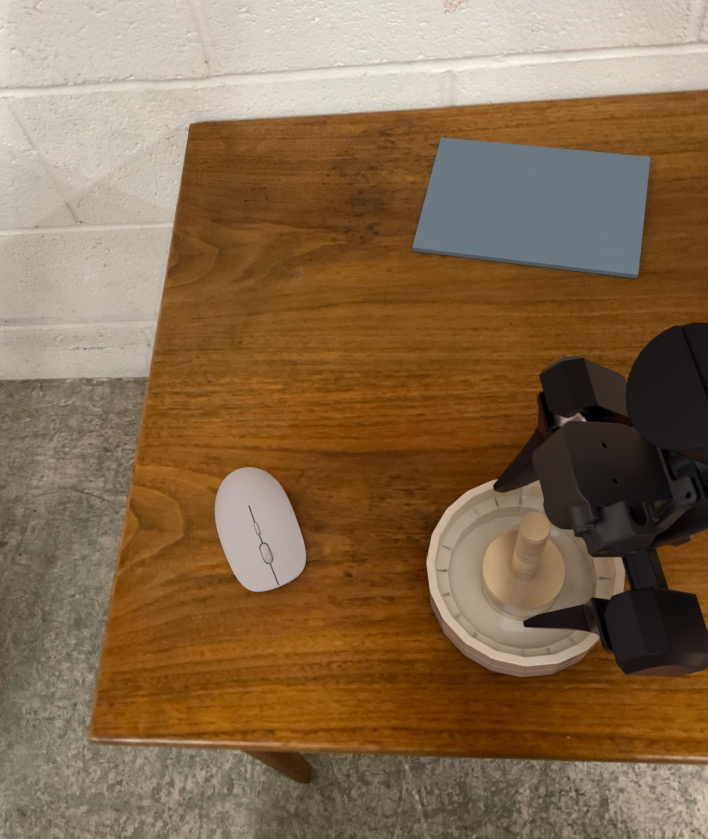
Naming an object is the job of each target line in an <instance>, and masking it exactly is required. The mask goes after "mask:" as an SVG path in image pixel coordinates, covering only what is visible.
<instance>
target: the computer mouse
mask: <svg viewBox="0 0 708 839" xmlns="http://www.w3.org/2000/svg"><path fill="white" fill-rule="evenodd" d="M214 520H215V526H216V530H217V534H218V538H219V541H220V544H221V547H222V549H223V553H224V555H225V557H226V560H227V562H228V564H229V567H230V568H231V570H232V573H233V574H234V576H235V577H236V579H237V581H238V582H239V583H240V584H241V585H242V586H243V587H244V588H245V589H247V590H248V591H250V592H254V593H261V592H268V591H272V590H274V589H277V588H280V587H283V586H285V585H287V584H289V583H290V582H292V581H294V580H295V579H297V578H298V577H299V576H300V575H301V574H302V572H304V570H305V567H306V563H307V550H306V546H305V540H304V538H303V537H304V536H303V534H302V530H301V528H300V524H299V522H298V519H297V517H296V514H295V511H294V509H293V506H292V503H291V502H290V499H289V497H288V495H287V493H286V491H285V489H284V488H283V486H282V485H281V484H280V482H279V481H278V480H277V479H276V478H275V477H274V476H273V475H272V474H270V473H269V472H267V471H265V470H264V469H261V468H258V467H254V466H253V467H252V466H245V467H241V468H237V469H235V470H233V471H232V472H230V473H229V474H227V475H226V477H225V478H224V479H223V480H222V481H221V484H219V487H218V490H217V492H216V496H215V501H214Z"/></svg>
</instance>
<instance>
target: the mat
mask: <svg viewBox="0 0 708 839" xmlns="http://www.w3.org/2000/svg"><path fill="white" fill-rule="evenodd" d="M651 159H652V158H651V156H647V155H634V154H624V153H613V152H604V151H592V150H583V149H571V148H562V147H561V148H559V147H550V146H539V145H528V144H516V143H508V142H507V143H506V142H496V141H495V142H494V141H486V140H485V141H484V140H473V139H464V138H463V139H462V138H451V137H442V136H441V137H440V139H439V143H438V147H437V151H436V155H435V158H434V162H433V165H432V170H431V174H430V177H429V182H428V185H427V189H426V193H425V197H424V200H423V203H422V204H423V205H422V207H421V208H422V209H421V212H420V216H419V220H418V224H417V227H416V231H415V234H414V238H413V243H412V247H411V249H412V250H411V251H412V252H416V253H423V254H433V255H440V256H441V255H442V256H448V257H456V258H465V259H471V260H472V259H473V260H481V261H490V262H496V263H497V262H498V263H505V264H515V265H523V266H531V267H538V268H547V269H553V270H564V271H570V272H571V271H572V272H578V273H587V274H596V275H603V276H604V275H605V276H612V277H620V278H628V279H638V277H639V273H640V264H641V254H642V244H643V235H644V227H645V226H644V224H645V216H646V207H647V206H646V205H647V196H648V186H649V176H650V168H651Z"/></svg>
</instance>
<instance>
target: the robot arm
mask: <svg viewBox="0 0 708 839" xmlns="http://www.w3.org/2000/svg"><path fill="white" fill-rule="evenodd" d="M538 377H539V381H540V384H541V388H542V390H541V391H540V392H538V393H537V396H536V403H537V411H538V413H537V426H536V428H535V430H534V432H533V433H532V435H531V436H530V438H529V439H528V441H527V442H526V444H525V445H524V447H522V448H521V450H520V451H519V452H518V454H517V455H516V456H515V457H514V459H513V460H512V461H511V462H510V463H509V465H508V466H507V467H506V468H505V470H504V471H503V472H502V473H501V475H500V476H498V480H497V481H496V482H495V483H494V485H493V489H494V491H495V492H499V493H506V492H509V491H512V490H515V489H518V488H522V487H524V486H527V485H529V484H531V483H533V482H536V481H538V480H539V482H540V486H541V490H542V494H543V498H544V502H543V507H544V511H545V514H546V516H547V518H548V520H549V521H550V522H551V523H552V524H553V525H554V526H556V527H558V528H560V529H565V530H572V529H573V533H574V536H575V537H580V538H582V539H583V540H584V542H585V544H586V547H587V551H588V554H589V555H590V556H592V557H621V558H622V562H623V565H624V569H625V577H626V579H627V583H628V585H629V589H627V590H625V591H623V592H622V593H619V594H616V595H613V596H611V598H610V599H603V598H596V597H592V598H590V599H589V600H588V601H587V602H586V603H585V604H582V605H577V606H573V607H568V608H564V609H559V610H555V611H550V612H546V613H541V614H538V615H535V616H533V617H531V618H528V619H526V620H524V621H523V625H524V627H526V628H538V629H559V630H579V631H586V632H591V633H594V634H597V635H598V636H599V639H600V642H599V643H600V646H601V648H602V649H603V650H604V651H605V652H607V654H611V655H613V656H614V660H615V663H616V665H617V666H618V667H619V669H620V670H621V671H622V672H623V674H625V675H627V676H648V677H667V678H679V677H683V676H686V675H691V674H694V673H698V672H702V671H705V670H706V669H707V668H708V627H707V624H706V621H705V618H704V614H703V612H702V609H701V606H700V603H699V599H698V597H697V593H692V592H688V591H682V590H675V589H670V588H669V585H668V582H667V579H666V576H665V572H664V569H663V565H662V563H661V558H660V556H659V553H658V550H657V549H660V548H661V547H664V546H671V547H679V546H681V545H684V544H687V543H690V542H692V538H691V536H694V535H696V534H698V533H702V532H705V531H707V530H708V322H690V323H685V324H681V325H678V324H676V325H673V326H671V327H668V328H667V329H664V330H662V331H661V332H660V333H659V334H657V335H655V336H654V337H653V338H652V339H651V340H649V341H648V342H647V344H646V345H645V346H644V347H643V348H642V350H640V352H639V353H638V355H637V356H636V358H635V360H634V361H633V363H632V365H631V368H630V371H629V373H628V376H627V379H626V377H625V375H624V374H621V373H619V372H617V371H614V370H612V369H610V368H607V367H606V366H603V365H601V364H599V363H597V362H594V361H592V360H590V359H587V358H585V357H582V356H580V355H572V356H571V355H570V356H565V357H562V358H560V359H558V360H556V361H554V363H551V364H550V365H548V366H546V367H544V368H543V369H542V370H541V372H540V373H539V375H538Z"/></svg>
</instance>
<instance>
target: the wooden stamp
mask: <svg viewBox="0 0 708 839" xmlns="http://www.w3.org/2000/svg"><path fill="white" fill-rule="evenodd" d="M550 530H551V524H550V521H549V520H548V518H547V517H546V516H545V515H543V514H542V513H539V512H530V513H527V514H526V515H524V516H523V518H522V519H521V522H520V526H519V530H513V531H509V532H507V533H504V534H502V535H500V536H499V537H497V538H496V539H495V540H494V541H493V542H492V543H491V544H490V545H489V547H488V549H487V550H486V553H485V555H484V559H483V565H482V573H481V587H482V591H483V594H484V597H485V599H486V600H487V602H488V604H489V605H490V606H491V607H492V608H493V609H494V610H495V611H496V612H498V613H499V614H500V615H502V616H504V617H506V618H509V619H512V620H517V621H524V620H526V619H528V618H531V617H533V616H535V615H538V614H541V613H546V612H548V611H549V610H550V609H551V608H552V606H553V605H554V603H555V601H556V600H557V597H558V595H559V593H560V591H561V588H562V586H563V583H564V580H565V564H564V560H563V557H562V555H561V553H560V551H559V550H558V548H557V547H556V546H555V545H554V544H553V543H552V542H551V541H550V540H549V539H548V536H549V533H550Z"/></svg>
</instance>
